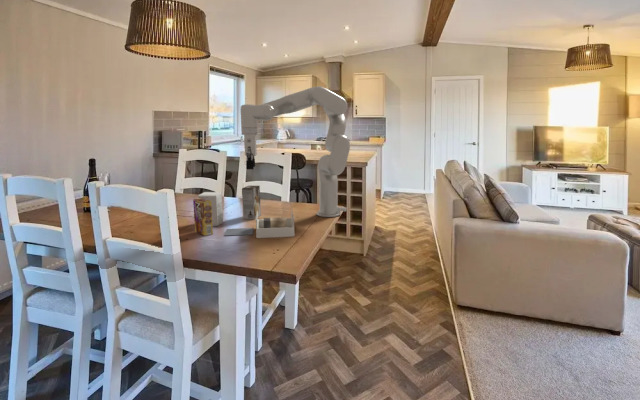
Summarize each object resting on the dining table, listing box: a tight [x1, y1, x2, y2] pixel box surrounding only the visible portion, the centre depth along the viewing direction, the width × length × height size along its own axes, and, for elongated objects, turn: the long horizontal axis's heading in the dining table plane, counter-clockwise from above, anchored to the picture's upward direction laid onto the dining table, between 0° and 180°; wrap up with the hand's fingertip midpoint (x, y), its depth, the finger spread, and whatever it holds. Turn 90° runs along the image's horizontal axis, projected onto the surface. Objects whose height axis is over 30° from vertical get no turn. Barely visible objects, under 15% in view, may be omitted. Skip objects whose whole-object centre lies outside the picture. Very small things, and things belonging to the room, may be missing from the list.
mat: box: [224, 227, 254, 237], centre depth 172 cm, size 12×10×1 cm
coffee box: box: [241, 185, 262, 221], centre depth 197 cm, size 9×6×16 cm
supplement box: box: [197, 191, 224, 227], centre depth 185 cm, size 9×9×15 cm
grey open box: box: [255, 209, 295, 239], centre depth 172 cm, size 16×16×8 cm
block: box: [263, 216, 287, 228], centre depth 172 cm, size 10×5×6 cm, turn 97°
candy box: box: [192, 197, 214, 237], centre depth 170 cm, size 9×4×15 cm, turn 47°
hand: (250, 168), depth 183 cm, fingers open, 9 cm apart
